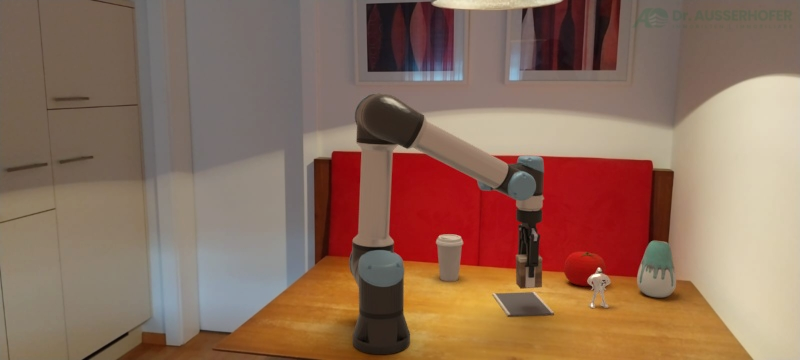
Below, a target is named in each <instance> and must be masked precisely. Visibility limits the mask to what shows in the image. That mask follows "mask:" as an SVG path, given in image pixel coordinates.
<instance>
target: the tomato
mask: <svg viewBox="0 0 800 360" xmlns="http://www.w3.org/2000/svg"><path fill="white" fill-rule="evenodd" d="M597 268H601V270H602V274H605V275H606V262H605V261H604V259H603V258H602V256H600V254H596V253H593V252H592V253H591V252H588V251H574V252H572V253H571V254H569V255H568V257H567V258H566V259H565V262H564V266H563V271H564V275H565V278H566V279H567V281H568V282H570V283H571V284H573V285H575V286H580V287H588V286H591V285H589V284H588V282H587V280H588V278H589V277H590V276H591V275H593V274H595V273H596V270H597ZM592 284H593V281H592ZM593 285H594V284H593Z"/></svg>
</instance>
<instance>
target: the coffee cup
mask: <svg viewBox="0 0 800 360" xmlns="http://www.w3.org/2000/svg"><path fill="white" fill-rule="evenodd" d="M435 244H436V245H437V257H438V260H437V261H438V272H439V279H440V280H441V281H443V282H455V281H458V280H459V276H460V275H459V274H460V265H461V257H462V250H463V249H462V246H463V245H464V241H463V239H462V236H461V235H457V234H452V233H451V234H450V233H448V234H445V233H444V234H439V236H438V237H437V238H436V241H435Z"/></svg>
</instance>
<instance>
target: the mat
mask: <svg viewBox="0 0 800 360" xmlns="http://www.w3.org/2000/svg"><path fill="white" fill-rule="evenodd" d="M492 297H493V298H494V300H495V301H496V302H497V304H498V305H499V307H500V308H501V309H502V311H503V312H504V313H505V314H504V315H506V316H507V318H508V317H510V318H511V317H533V316H534V317H535V316H536V317H537V316H554V315H555V312H554V311H553V310H552V309H551V308H550V307H549V305H548V304H547V303H546V302H545V301H544V300H543V299H542V298H541V297H540V296H539V295H538V294H537V292H535V291H532V292H531V291H528V292H527V291H526V292H501V293H500V292H499V293H495V292H492Z"/></svg>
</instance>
